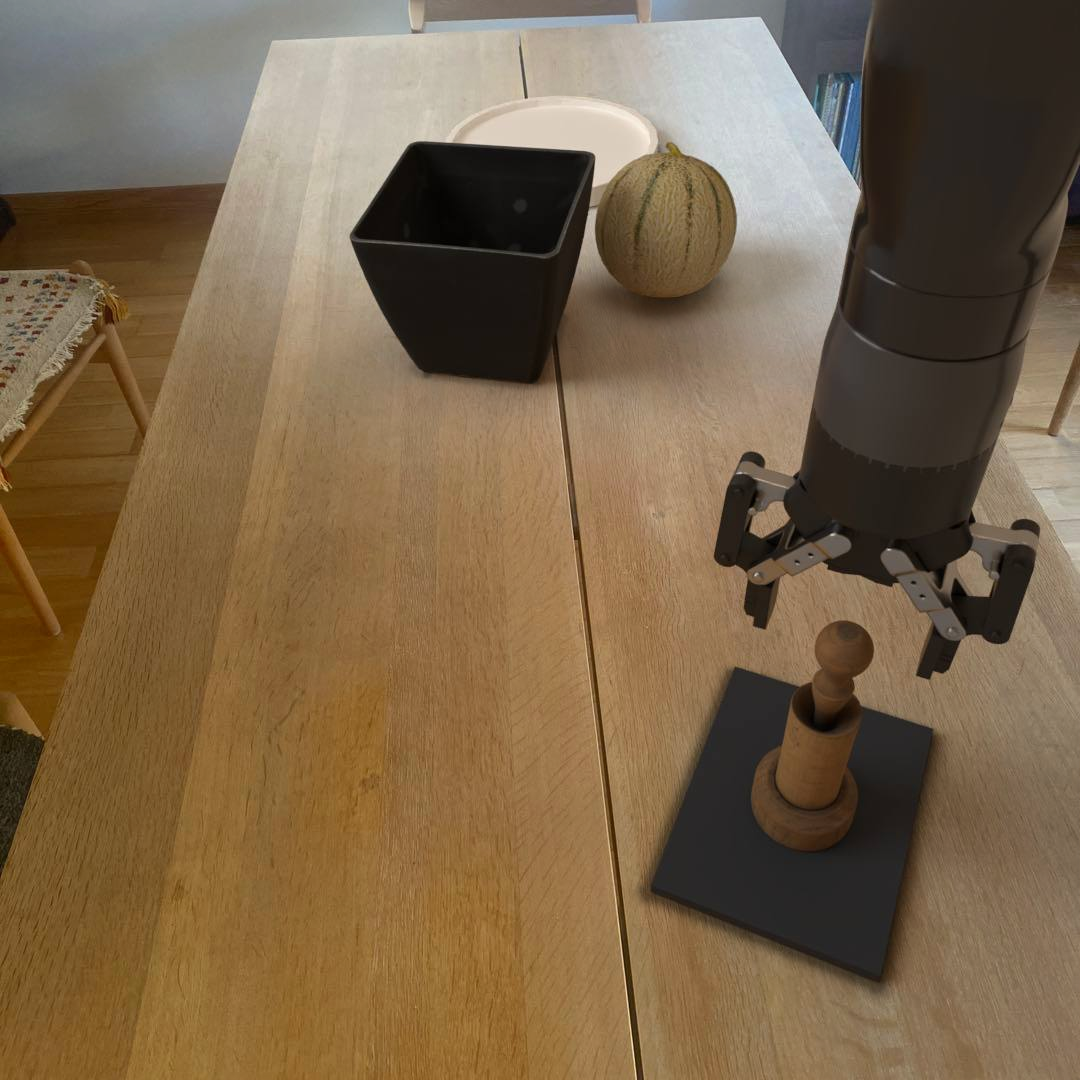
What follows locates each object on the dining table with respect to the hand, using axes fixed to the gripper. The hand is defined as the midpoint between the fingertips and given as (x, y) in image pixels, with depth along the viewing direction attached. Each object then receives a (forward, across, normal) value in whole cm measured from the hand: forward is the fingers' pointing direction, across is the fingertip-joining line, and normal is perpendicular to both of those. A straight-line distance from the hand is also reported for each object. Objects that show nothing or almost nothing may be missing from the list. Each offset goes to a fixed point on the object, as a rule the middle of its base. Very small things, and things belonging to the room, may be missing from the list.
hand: (843, 640), depth 53 cm
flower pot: (+18, -42, +39) cm, 61 cm away
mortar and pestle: (+17, 0, 0) cm, 17 cm away
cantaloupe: (+18, -29, +56) cm, 65 cm away
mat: (+18, 0, 0) cm, 18 cm away
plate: (+18, -54, +79) cm, 97 cm away
